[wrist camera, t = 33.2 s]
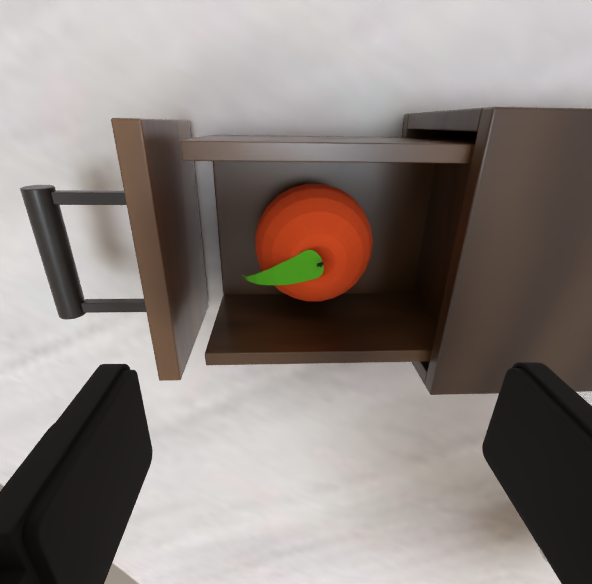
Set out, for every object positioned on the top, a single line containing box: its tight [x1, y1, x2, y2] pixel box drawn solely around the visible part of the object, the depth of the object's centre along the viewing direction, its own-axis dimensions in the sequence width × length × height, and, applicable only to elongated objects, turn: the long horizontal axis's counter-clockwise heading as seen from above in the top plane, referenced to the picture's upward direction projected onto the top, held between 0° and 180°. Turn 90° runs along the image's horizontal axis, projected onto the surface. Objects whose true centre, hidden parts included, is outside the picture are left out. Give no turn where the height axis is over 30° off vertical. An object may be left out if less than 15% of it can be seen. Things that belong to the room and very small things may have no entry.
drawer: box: [20, 118, 476, 380], centre depth 21 cm, size 23×13×9 cm, turn 89°
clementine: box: [242, 183, 373, 301], centre depth 21 cm, size 8×7×7 cm
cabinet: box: [402, 107, 592, 395], centre depth 22 cm, size 19×14×11 cm
